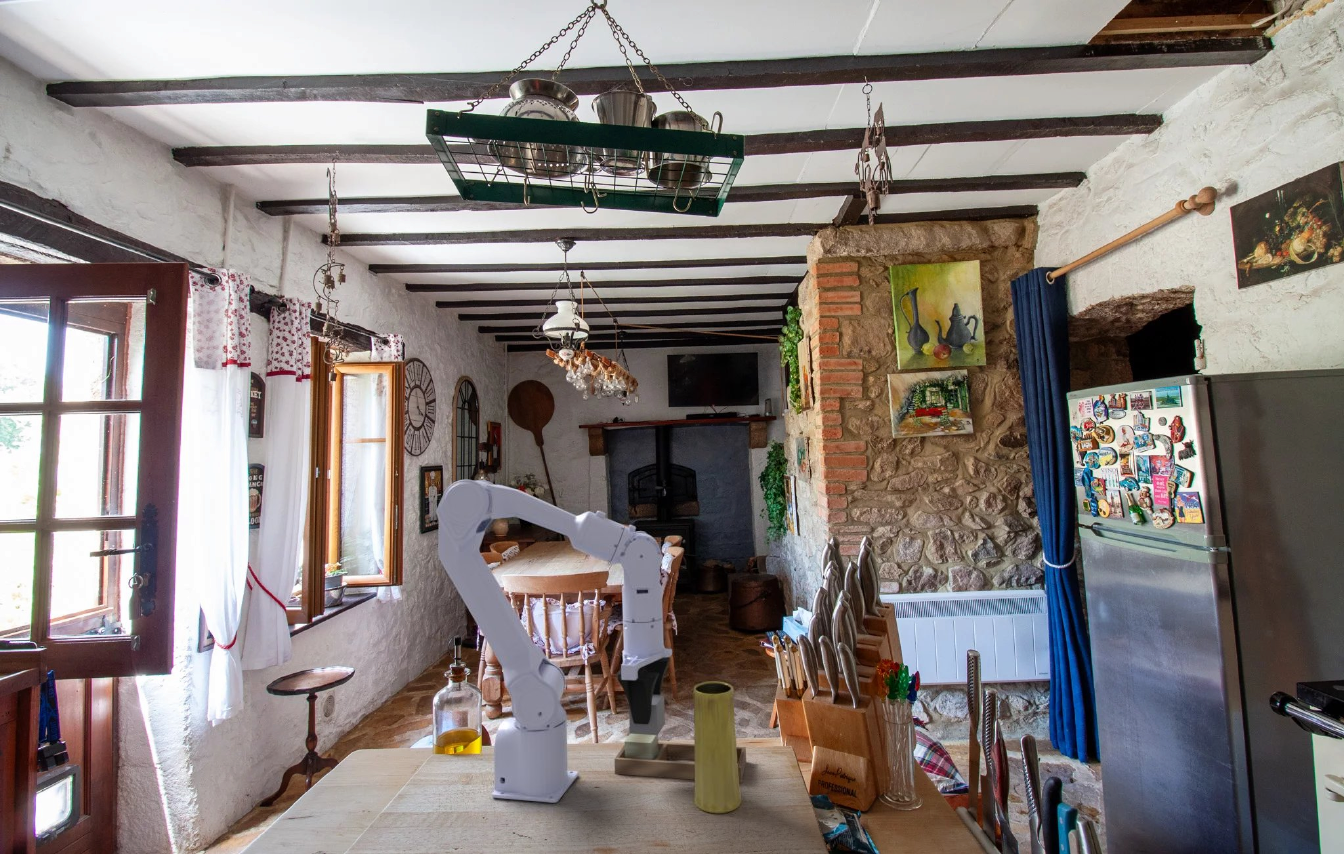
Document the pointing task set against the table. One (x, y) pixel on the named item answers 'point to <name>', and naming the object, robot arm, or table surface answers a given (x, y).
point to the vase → (715, 748)
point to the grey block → (651, 718)
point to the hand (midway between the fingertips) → (646, 716)
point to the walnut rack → (662, 758)
